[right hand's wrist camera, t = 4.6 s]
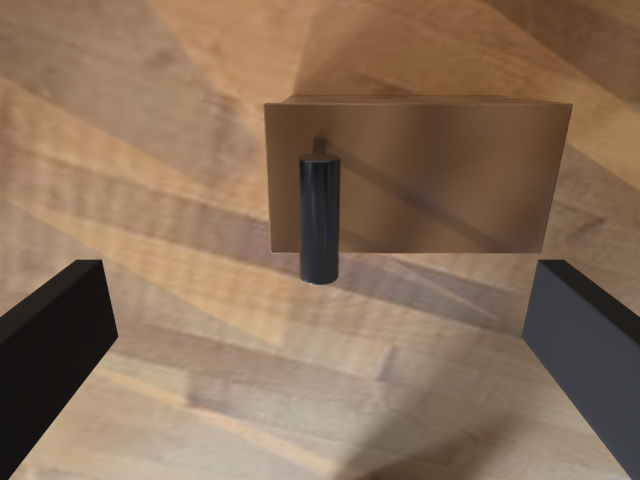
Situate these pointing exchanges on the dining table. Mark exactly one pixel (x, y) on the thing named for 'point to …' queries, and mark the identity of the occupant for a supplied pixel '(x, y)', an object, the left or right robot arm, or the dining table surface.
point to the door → (409, 178)
